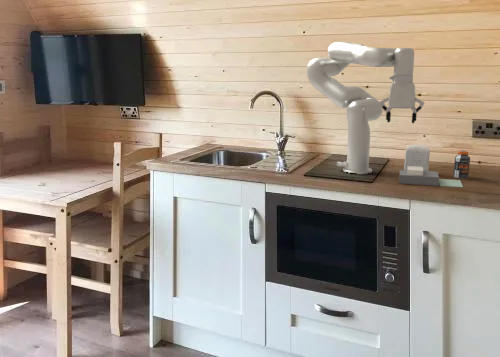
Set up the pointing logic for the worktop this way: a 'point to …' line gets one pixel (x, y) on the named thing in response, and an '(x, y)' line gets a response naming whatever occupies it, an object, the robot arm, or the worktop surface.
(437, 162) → the worktop surface
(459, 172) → the pill bottle
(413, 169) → the tile
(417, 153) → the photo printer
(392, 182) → the worktop surface
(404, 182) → the plate
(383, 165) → the worktop surface
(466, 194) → the worktop surface
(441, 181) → the mat
